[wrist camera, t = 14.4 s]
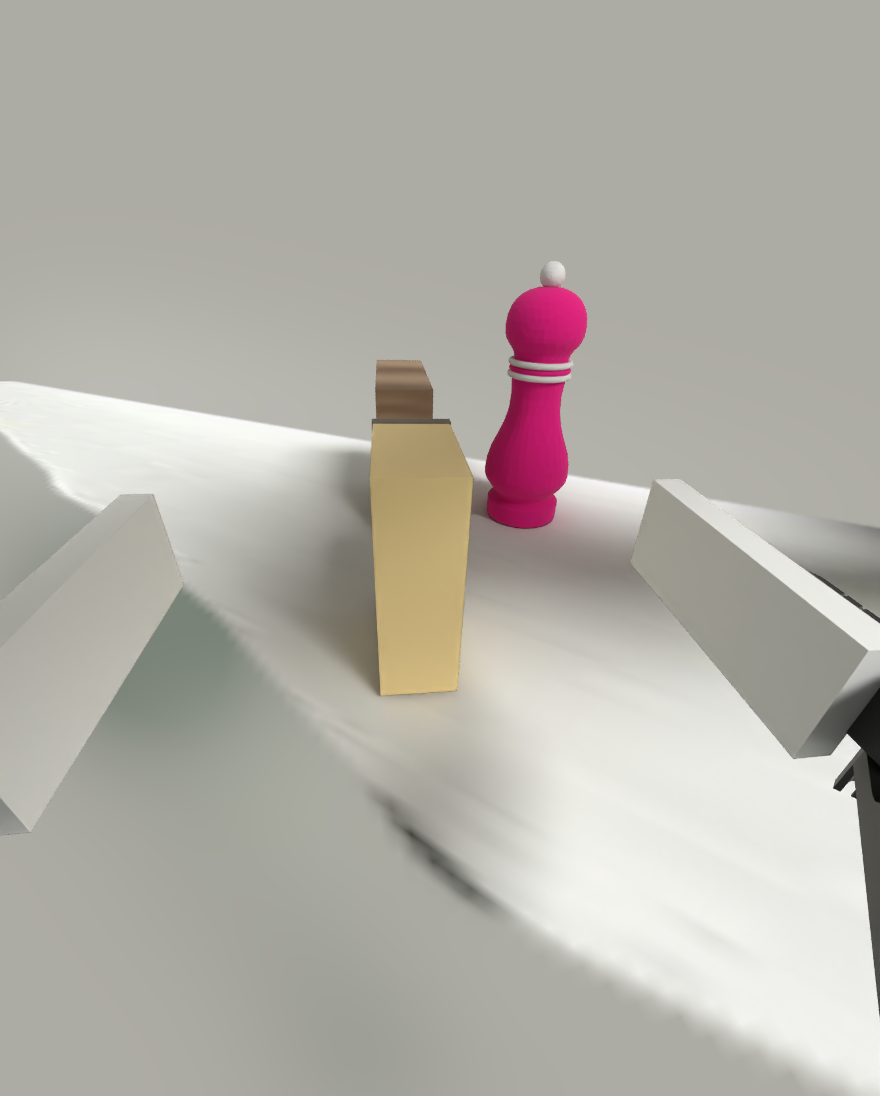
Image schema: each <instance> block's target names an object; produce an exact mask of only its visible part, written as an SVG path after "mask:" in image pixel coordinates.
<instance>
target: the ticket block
mask: <svg viewBox="0 0 880 1096" xmlns="http://www.w3.org/2000/svg"><path fill="white" fill-rule="evenodd" d="M375 390H376V391H375V392H376V418H377V419H433V418H432V417H433V389H432V386H431V384H430V381H429V379H428V377H427V374H426V372H425V370H424V367H423V365H422V362H421V361H410V360H409V361H408V360H377V369H376V387H375Z"/></svg>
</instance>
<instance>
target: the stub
mask: <svg viewBox="0 0 880 1096" xmlns="http://www.w3.org/2000/svg"><path fill="white" fill-rule="evenodd" d="M472 490H473V475H472V473H471V471H470V468H469V466H468V464H467V462H466V459H465V457H464V455H463V452H462V450H461V448H460V446H459V443H458V441H457V439H456V436H455V434H454V432H453V430H452V427H451V422H450V420H449V419H372V447H371V464H370V495H371V514H372V534H373V554H374V574H375V594H376V614H377V634H378V654H379V674H380V693H381V696H382V695H398V694H413V693H429V692H445V691H457V688H458V675H459V662H460V648H461V635H462V622H463V609H464V596H465V582H466V569H467V556H468V543H469V529H470V516H471V503H472Z"/></svg>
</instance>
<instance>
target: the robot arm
mask: <svg viewBox="0 0 880 1096" xmlns="http://www.w3.org/2000/svg"><path fill="white" fill-rule="evenodd" d="M630 563H631V564H632V565H633V567H634V568H635V569H636V570H637V571H638V573H639V574H640V575H641V576H642V577H643V579H644V580H645V581H646V582H647V584H648V585H649V586H650V587H651V588H652V590H653V591H654V592H655V593H656V594H657V596H658V597H659V598H660V599H661V600H662V602H663V603H664V604H665V605H666V606H667V608H668V609H669V610H670V611H671V612H672V614H673V615H674V616H675V617H676V618H677V620H678V621H679V622H680V623H681V624H682V626H683V627H684V628H685V629H686V630H687V632H688V633H689V634H690V635H691V636H692V638H693V639H694V640H695V641H696V642H697V644H698V645H699V646H700V647H701V648H702V650H703V651H704V652H705V653H706V654H707V656H708V657H709V658H710V659H711V661H712V662H713V663H714V664H715V665H716V667H717V668H718V669H719V670H720V671H721V673H722V674H723V675H724V676H725V677H726V679H727V680H728V681H729V682H730V683H731V685H732V686H733V687H734V688H735V689H736V691H737V692H738V693H739V694H740V695H741V697H742V698H743V699H744V700H745V701H746V703H747V704H748V705H749V706H750V707H751V709H752V710H753V711H754V712H755V713H756V715H757V716H758V717H759V718H760V719H761V721H762V722H763V723H764V724H765V725H766V727H767V728H768V729H769V730H770V731H771V733H772V734H773V735H774V736H775V737H776V739H777V740H778V741H779V742H780V744H781V745H782V746H783V747H784V748H785V750H786V751H787V752H788V753H789V754H790V756H791V757H792V758H793V759H796V758H807V757H817V756H827V755H831V754H832V753H833V751H834V750H835V749H836V747H837V746H838V745H839V743H840V742H841V741H842V739H843V738H844V737H845V736H846V734H848V735H849V736H850V737H851V738H852V739H853V740H854V741H855V742H856V743H857V744H858V745H859V746H860V747H861V749H860V750H859V751H858V753H857V754H856V755H855V756H854V758H853V759H852V760H851V761H850V763H849V764H848V765H847V766H846V768H845V769H844V770H843V771H842V772H841V774H840V775H839V776H838V777H837V779H836V780H835V783H834V787H833V788H834V789H836V790H838V791H841V790H842V789H843V788H844V787H845V786H846V784H847V783H848V782H850V781H855V788H856V790H855V791H854V792H853V793H852V794H851V796H852V797H854V798H856V799H857V807H858V816H859V826H860V835H861V845H862V854H863V864H864V873H865V883H866V892H867V902H868V911H869V921H870V930H871V940H872V949H873V959H874V968H875V978H876V987H877V996H878V1006H879V1015H880V618H878V617H877V616H876V615H874V614H873V613H871V612H870V611H869V610H867V609H862V605H860V604H859V603H857V602H856V601H855V600H853V599H852V598H850V597H849V596H844V593H843V592H842V591H841V590H839V589H838V588H836V587H835V586H834V585H832V584H831V583H829V582H828V581H827V580H825V579H824V578H822V577H820V576H818V575H816V574H814V573H812V572H809V571H807V570H805V569H803V568H802V567H801V566H799V565H798V564H797V563H795V562H794V561H792V560H791V559H790V558H788V557H787V556H785V555H784V554H783V553H781V552H780V551H779V550H777V549H776V548H774V547H773V546H772V545H770V544H769V543H767V542H766V541H765V540H763V539H762V538H761V537H759V536H758V535H756V534H755V533H754V532H752V531H751V530H749V529H748V528H747V527H745V526H744V525H743V524H741V523H740V522H738V521H737V520H736V519H734V518H733V517H731V516H730V515H729V514H727V513H726V512H725V511H723V510H722V509H720V508H719V507H718V506H716V505H715V504H713V503H712V502H711V501H709V500H708V499H707V498H705V497H704V496H702V495H701V494H699V493H698V492H697V491H695V490H694V489H693V488H691V487H690V486H689V485H687V484H686V483H684V482H683V481H682V480H680V479H664V480H663V479H661V480H653V483H652V487H651V490H650V494H649V497H648V501H647V504H646V508H645V512H644V515H643V519H642V522H641V526H640V529H639V533H638V536H637V540H636V543H635V547H634V550H633V554H632V557H631V561H630ZM183 585H184V582H183V579H182V576H181V573H180V570H179V568H178V565H177V562H176V559H175V556H174V553H173V550H172V547H171V544H170V541H169V538H168V535H167V533H166V530H165V527H164V524H163V521H162V518H161V515H160V512H159V509H158V506H157V503H156V500H155V498H154V495H153V494H133V495H120V496H119V497H117V498H116V499H115V500H114V501H113V502H112V503H111V504H110V505H108V506H107V507H106V508H105V509H104V510H103V511H102V512H101V513H99V514H98V515H97V516H96V517H95V518H94V519H93V520H92V521H90V522H89V523H88V524H87V525H86V526H85V527H84V528H82V529H81V530H80V531H79V532H78V533H77V534H76V535H75V536H74V537H73V538H71V539H70V540H69V541H68V542H67V543H66V544H64V545H63V546H62V547H61V548H60V549H59V550H58V551H56V552H55V553H54V554H53V555H52V556H51V557H50V558H49V559H47V560H46V561H45V562H44V563H43V564H42V565H41V566H40V567H38V569H36V570H35V571H34V572H33V573H32V574H31V575H30V576H28V577H27V578H26V579H25V580H24V581H23V582H21V583H20V584H19V585H18V586H17V587H16V588H15V589H14V590H12V591H11V592H10V593H9V594H8V595H7V596H6V597H5V598H3V599H2V600H1V601H0V835H9V834H20V833H30V832H31V831H32V829H33V828H34V826H35V824H36V823H37V821H38V819H39V818H40V816H41V815H42V813H43V811H44V810H45V808H46V806H47V805H48V803H49V801H50V800H51V798H52V797H53V795H54V794H55V792H56V790H57V789H58V787H59V785H60V784H61V782H62V781H63V779H64V777H65V776H66V774H67V772H68V771H69V769H70V768H71V766H72V764H73V763H74V761H75V760H76V758H77V756H78V754H79V753H80V751H81V750H82V748H83V746H84V745H85V743H86V742H87V740H88V738H89V737H90V735H91V733H92V732H93V730H94V729H95V727H96V725H97V724H98V722H99V720H100V719H101V717H102V716H103V714H104V713H105V711H106V709H107V708H108V706H109V704H110V703H111V701H112V700H113V698H114V696H115V695H116V693H117V691H118V690H119V688H120V687H121V685H122V683H123V682H124V680H125V679H126V677H127V675H128V673H129V672H130V670H131V669H132V667H133V665H134V664H135V662H136V661H137V659H138V657H139V656H140V654H141V653H142V651H143V649H144V648H145V646H146V644H147V643H148V641H149V640H150V638H151V636H152V635H153V633H154V632H155V630H156V628H157V627H158V625H159V623H160V622H161V620H162V619H163V617H164V615H165V614H166V612H167V610H168V609H169V607H170V606H171V604H172V602H173V601H174V599H175V597H176V596H177V594H178V593H179V591H180V589H181V588H182V586H183Z"/></svg>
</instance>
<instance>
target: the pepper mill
mask: <svg viewBox="0 0 880 1096" xmlns="http://www.w3.org/2000/svg"><path fill="white" fill-rule="evenodd" d="M564 279H565V269H564V267H563V265H562V264H561V263H559V262H557V261H552V262H549V263H547V264H546V265H545V266H544V267H543V268H542V270H541V274H540V280H541V283H542V285H543V286H544V287H537V288H534V289H530V290H528V291H527V292H524V293H523V294H522V295H520V296H519V297H518V298H517V299H516V300H515V302H514V303H513V304H512V306H511V308H510V310H509V313H508V317H507V321H506V337H507V339H508V341H509V343H510V345H511V346H512V348H513V350H514V356H512V357H510V358H509V363H510V366H509V368H510V369H509V370H508V375H509V376H510V377H512V393H511V399H510V405H509V409H508V412H507V415H506V418H505V420H504V422H503V424H502V426H501V428H500V430H499V432H498V434H497V435H496V437H495V439H494V441H493V442H492V444H491V447H490V450H489V452H488V455H487V460H486V465H485V473H486V476H487V479H488V480H489V482H490V483H491V484H492V486H493V488H492V489H491V490H490V491H489V493H488V500H487V512H488V514H489V515H490V516H491V517H492V518H493V519H494V520H496V521H497V522H499V523H502V524H505V525H508V526H512V527H518V528H536V527H540V526H544V525H546V524H548V523H550V522H551V521H552V520H553V518H554V514H555V508H556V503H557V500H556V497H555V496H554V495H553V494H554V493H555V492H557V491H558V490H559V489H560V488H561V487H562V486H563V485H564V483H565V482H566V479H567V474H568V454H567V450H566V446H565V442H564V438H563V434H562V429H561V422H560V406H561V396H562V392H563V388H564V384H565V381H568V380H570V378H571V374H570V372H571V369H570V368H571V367H572V366H573V362H572V360H570V359H569V357H570V355H571V354H572V353H573V351H574V350H575V349H576V348H577V347H579V345H580V344H581V343H582V341H583V339H584V337H585V333H586V328H587V313H586V309H585V306H584V304H583V302H582V300H581V299H580V298H579V297H578V296H577V295H576V294H574V293H573V292H571V291H569V290H567V289H564V288H560V287H559V286H561V284H562V283H563V281H564Z"/></svg>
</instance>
